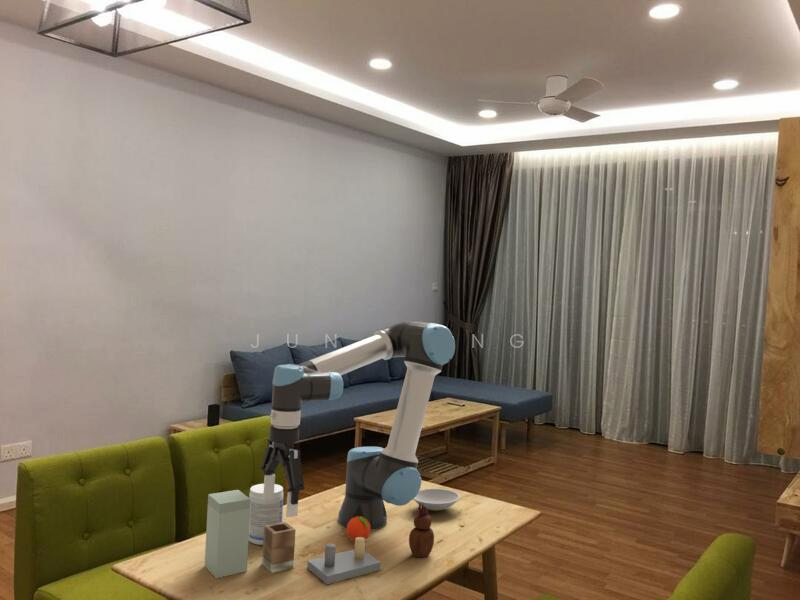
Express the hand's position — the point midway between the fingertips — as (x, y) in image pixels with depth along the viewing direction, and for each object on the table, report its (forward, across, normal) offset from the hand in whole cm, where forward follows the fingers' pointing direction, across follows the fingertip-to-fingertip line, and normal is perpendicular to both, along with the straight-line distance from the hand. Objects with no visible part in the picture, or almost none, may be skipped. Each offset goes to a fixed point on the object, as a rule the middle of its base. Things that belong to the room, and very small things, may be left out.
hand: (279, 507), depth 163 cm
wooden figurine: (+15, +13, +38) cm, 43 cm away
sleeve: (+15, 0, +1) cm, 15 cm away
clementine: (+15, -3, +28) cm, 32 cm away
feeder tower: (+15, -5, -11) cm, 20 cm away
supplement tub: (+15, -17, +5) cm, 23 cm away
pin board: (+15, +10, +15) cm, 23 cm away
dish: (+15, -12, +64) cm, 66 cm away
